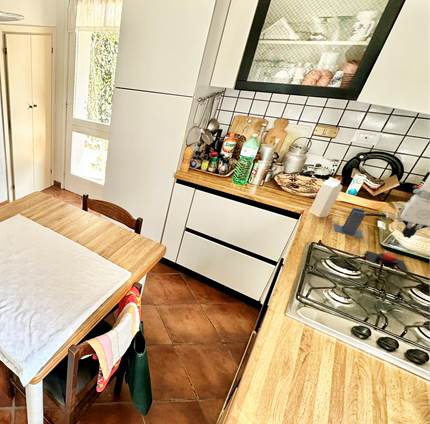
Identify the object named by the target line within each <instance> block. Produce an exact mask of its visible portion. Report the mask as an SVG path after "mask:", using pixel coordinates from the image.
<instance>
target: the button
mask: <svg viewBox="0 0 430 424" xmlns="http://www.w3.org/2000/svg"><path fill="white" fill-rule="evenodd" d="M383 253H384V255H383V257H384V258H385V259H387V260H391V261H394V260H395V258H397V256H396V255H395V254H393V253H391V252H383Z"/></svg>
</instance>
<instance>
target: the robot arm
mask: <svg viewBox="0 0 430 424" xmlns="http://www.w3.org/2000/svg"><path fill="white" fill-rule="evenodd" d="M412 193H413V194H414V195H413V196H411V197H410V198H409V200H408V201H407V202H406V203H405V204H404V206H403V207H402V209H401V210H400V212H399V214H398V216H396V217H395V219H396V221H398V222H401V223H403V224H404V225H405V226H404V228H403V230H402V231H401V234H402V236H403V237H404V238H407V239H411V237H414V236H415V234H416V232H418V231H420V230H422V229H426V228H427V229H430V174H429V175H428V176H427V178H426V179H425V181H424V183H423V184H422V185H421V187H420V188H419V189H416V188H415V189H413V191H412ZM413 224H414V225H413Z"/></svg>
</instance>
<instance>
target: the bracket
mask: <svg viewBox="0 0 430 424" xmlns="http://www.w3.org/2000/svg"><path fill="white" fill-rule="evenodd" d="M358 211H362V212H358ZM366 213H367V212H366V210H365V209H361V208H357V207H352V209H351V210H350V212H349V215H348V216H347V218H346V219H345V221H344V223H343V225H342V224H341V225H340V224H336V223H333V231H334V232H335V233H339V234H342V235H346V236H351V237H354V238H358V239H362V240H363V239H364V234H363V231H362V230H360V229H359V227H360V225H361V223H362V222H363V221H364V218H365V217H366V216H365V215H366Z"/></svg>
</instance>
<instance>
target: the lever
mask: <svg viewBox="0 0 430 424" xmlns="http://www.w3.org/2000/svg"><path fill="white" fill-rule="evenodd" d="M358 212H362V211H358ZM365 213H366V215H365V217H377V218H379V217H380V218H385V219H386V220H391V215H390V213H389V212H384V213H371V212H365Z"/></svg>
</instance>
